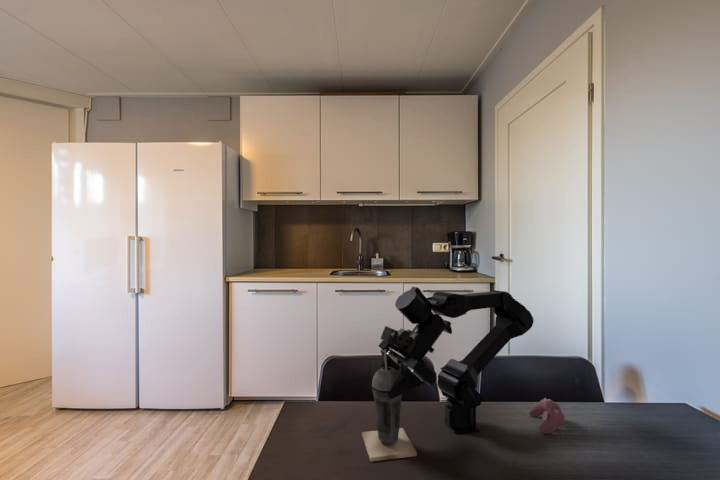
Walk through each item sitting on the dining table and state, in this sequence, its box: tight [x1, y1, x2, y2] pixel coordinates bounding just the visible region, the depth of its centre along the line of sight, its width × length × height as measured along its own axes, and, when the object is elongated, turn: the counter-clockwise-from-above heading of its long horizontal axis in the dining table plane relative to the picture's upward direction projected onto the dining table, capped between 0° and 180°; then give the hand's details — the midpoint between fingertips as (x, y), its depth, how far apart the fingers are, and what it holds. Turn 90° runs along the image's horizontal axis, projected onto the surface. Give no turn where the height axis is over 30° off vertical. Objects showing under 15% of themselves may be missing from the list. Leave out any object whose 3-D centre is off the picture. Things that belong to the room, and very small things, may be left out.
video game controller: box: [528, 397, 565, 435], centre depth 83 cm, size 10×5×7 cm, turn 169°
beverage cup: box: [371, 349, 403, 443], centre depth 76 cm, size 7×7×20 cm
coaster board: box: [361, 427, 418, 462], centre depth 75 cm, size 10×10×1 cm
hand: (382, 390), depth 75 cm, fingers closed on beverage cup, 7 cm apart
